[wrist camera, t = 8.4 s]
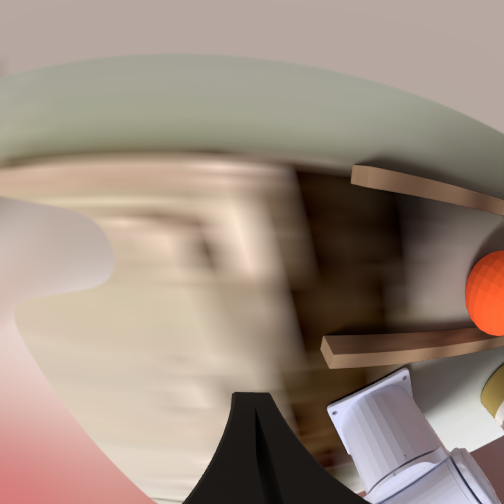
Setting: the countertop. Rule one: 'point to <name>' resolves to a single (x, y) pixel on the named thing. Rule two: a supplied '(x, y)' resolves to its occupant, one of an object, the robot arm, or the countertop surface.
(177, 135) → the countertop surface
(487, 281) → the clementine
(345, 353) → the holder
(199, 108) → the countertop surface
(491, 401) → the paper tube
